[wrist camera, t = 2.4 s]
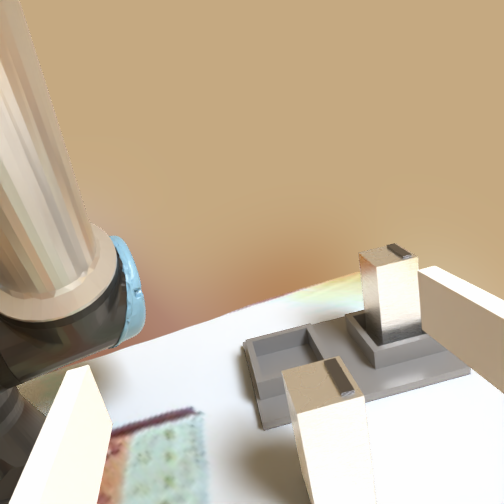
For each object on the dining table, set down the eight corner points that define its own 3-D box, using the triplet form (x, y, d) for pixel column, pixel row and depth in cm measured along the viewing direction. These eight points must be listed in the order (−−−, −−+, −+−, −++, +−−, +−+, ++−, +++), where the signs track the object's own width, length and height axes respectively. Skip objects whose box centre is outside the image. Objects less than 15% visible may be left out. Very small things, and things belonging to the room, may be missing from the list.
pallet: (263, 430, 43) (257, 405, 41) (244, 348, 58) (239, 327, 56) (470, 373, 45) (470, 347, 43) (399, 308, 59) (397, 287, 58)
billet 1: (319, 528, 32) (296, 410, 28) (302, 475, 37) (280, 368, 32) (377, 510, 33) (363, 392, 28) (353, 461, 37) (338, 352, 33)
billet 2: (384, 355, 49) (376, 264, 44) (366, 334, 53) (358, 250, 49) (422, 345, 49) (417, 254, 45) (401, 325, 54) (396, 241, 49)
